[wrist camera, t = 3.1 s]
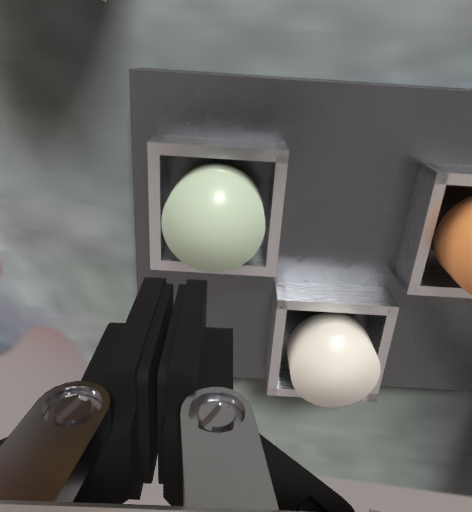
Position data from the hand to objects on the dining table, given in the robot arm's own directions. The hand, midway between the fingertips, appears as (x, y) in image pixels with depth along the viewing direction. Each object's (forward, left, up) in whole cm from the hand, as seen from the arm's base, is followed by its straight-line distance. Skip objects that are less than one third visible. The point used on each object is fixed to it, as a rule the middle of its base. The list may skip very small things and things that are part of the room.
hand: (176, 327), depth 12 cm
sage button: (0, +1, -9) cm, 9 cm away
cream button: (+7, +7, -9) cm, 13 cm away
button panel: (+2, +7, -13) cm, 14 cm away
